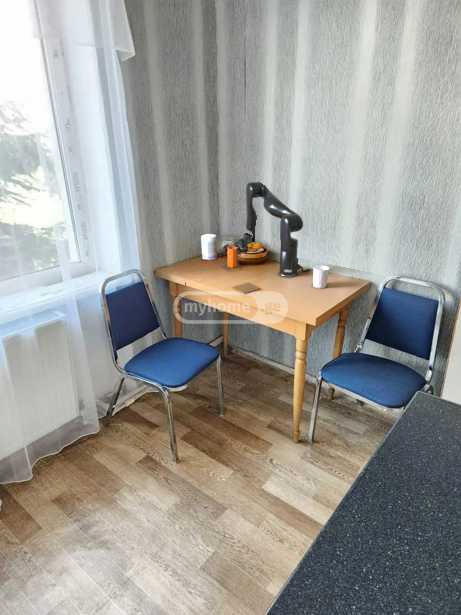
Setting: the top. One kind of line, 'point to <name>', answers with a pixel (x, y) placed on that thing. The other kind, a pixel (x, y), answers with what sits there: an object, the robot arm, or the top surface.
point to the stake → (231, 267)
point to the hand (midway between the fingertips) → (231, 251)
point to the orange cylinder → (232, 256)
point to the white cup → (320, 276)
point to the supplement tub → (209, 246)
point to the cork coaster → (246, 288)
